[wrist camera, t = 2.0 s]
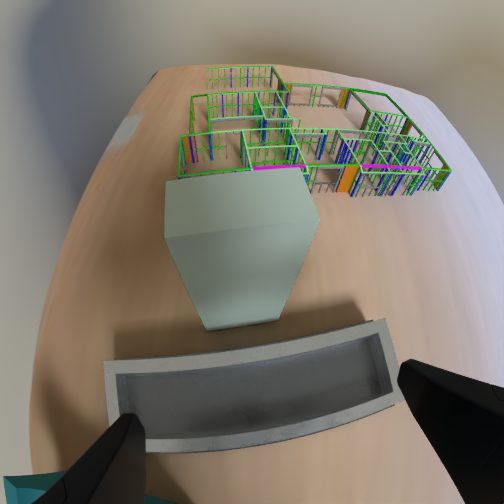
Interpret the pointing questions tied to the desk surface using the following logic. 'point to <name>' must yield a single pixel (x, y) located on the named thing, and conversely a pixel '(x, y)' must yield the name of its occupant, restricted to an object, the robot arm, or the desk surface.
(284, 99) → the house model
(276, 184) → the door panel
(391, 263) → the desk surface
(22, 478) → the teal curved piece
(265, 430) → the door track
